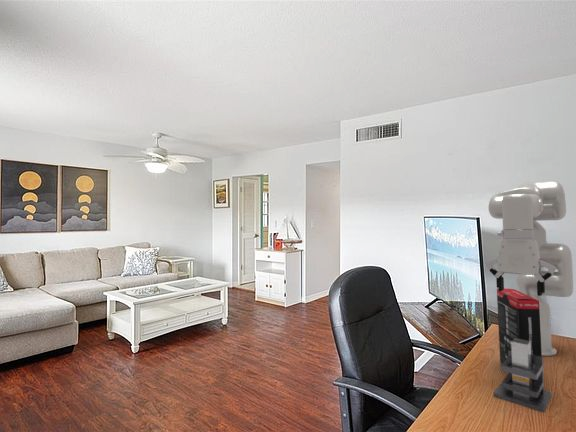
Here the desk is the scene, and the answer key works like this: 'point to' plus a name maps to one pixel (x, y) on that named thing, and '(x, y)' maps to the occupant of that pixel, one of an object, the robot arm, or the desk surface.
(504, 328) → the graphics card box
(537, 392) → the collar stand
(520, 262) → the robot arm
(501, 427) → the desk surface
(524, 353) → the silver square metal bar
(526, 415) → the desk surface
